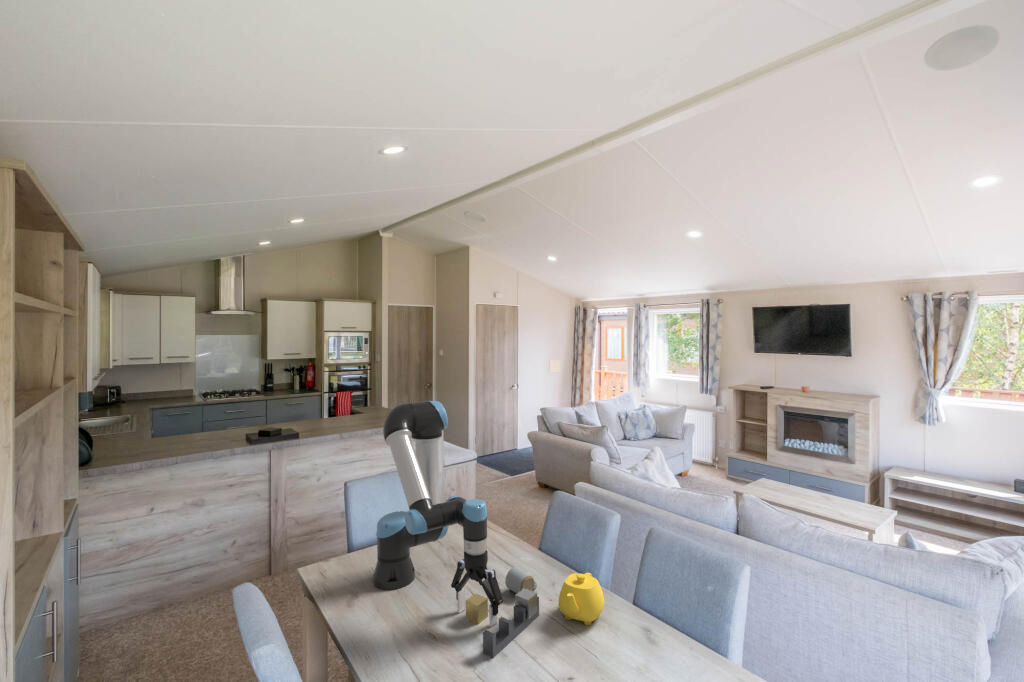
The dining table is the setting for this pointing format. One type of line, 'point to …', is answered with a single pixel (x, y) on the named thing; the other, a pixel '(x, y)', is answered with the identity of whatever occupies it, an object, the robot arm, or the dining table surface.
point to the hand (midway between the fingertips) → (477, 617)
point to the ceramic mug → (519, 580)
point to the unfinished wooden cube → (476, 608)
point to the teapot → (581, 598)
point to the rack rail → (507, 631)
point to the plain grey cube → (527, 601)
